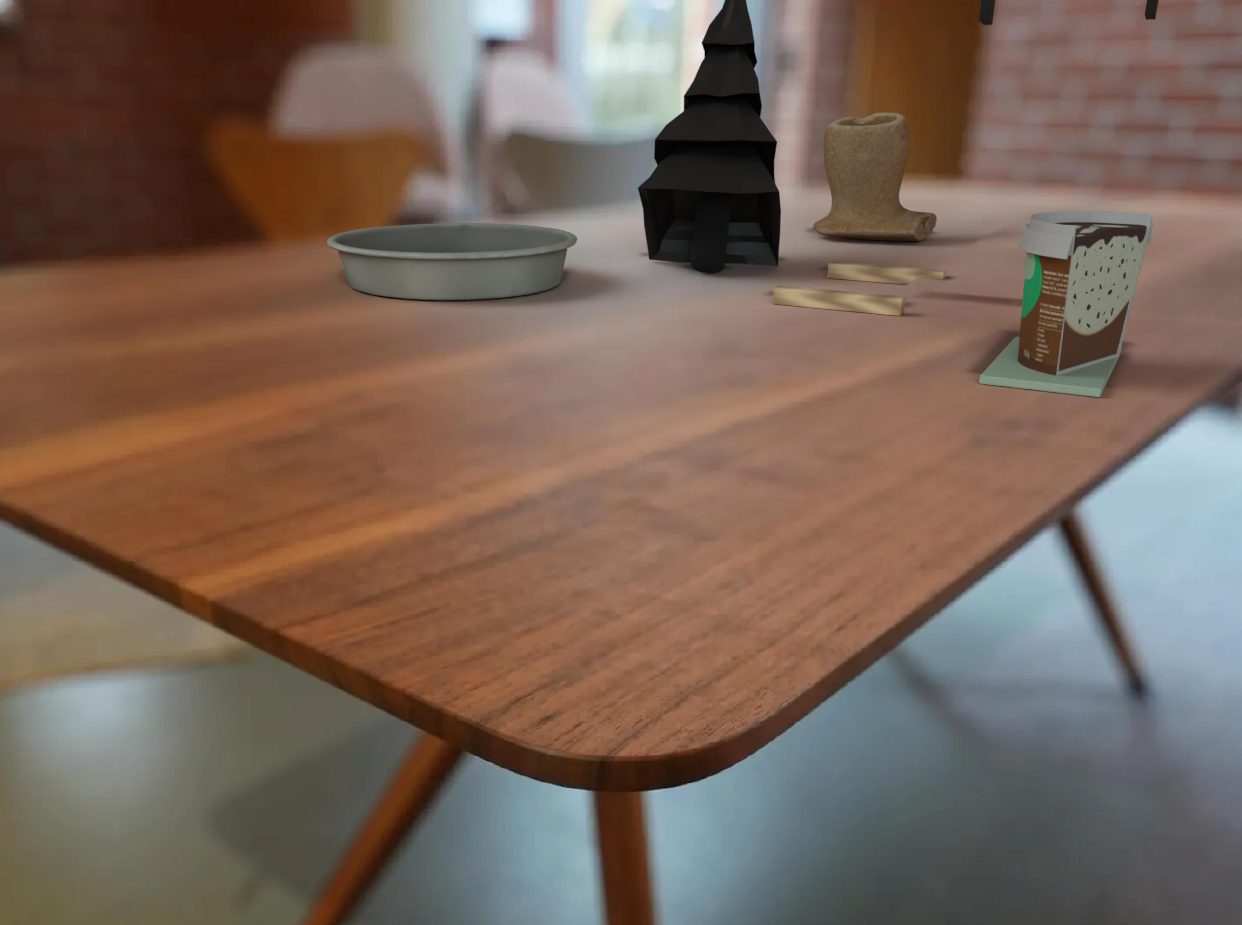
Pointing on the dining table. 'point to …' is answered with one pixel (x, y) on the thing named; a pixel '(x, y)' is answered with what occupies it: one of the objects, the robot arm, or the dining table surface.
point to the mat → (1046, 375)
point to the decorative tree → (716, 162)
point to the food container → (1078, 286)
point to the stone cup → (870, 180)
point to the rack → (856, 299)
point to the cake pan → (453, 260)
